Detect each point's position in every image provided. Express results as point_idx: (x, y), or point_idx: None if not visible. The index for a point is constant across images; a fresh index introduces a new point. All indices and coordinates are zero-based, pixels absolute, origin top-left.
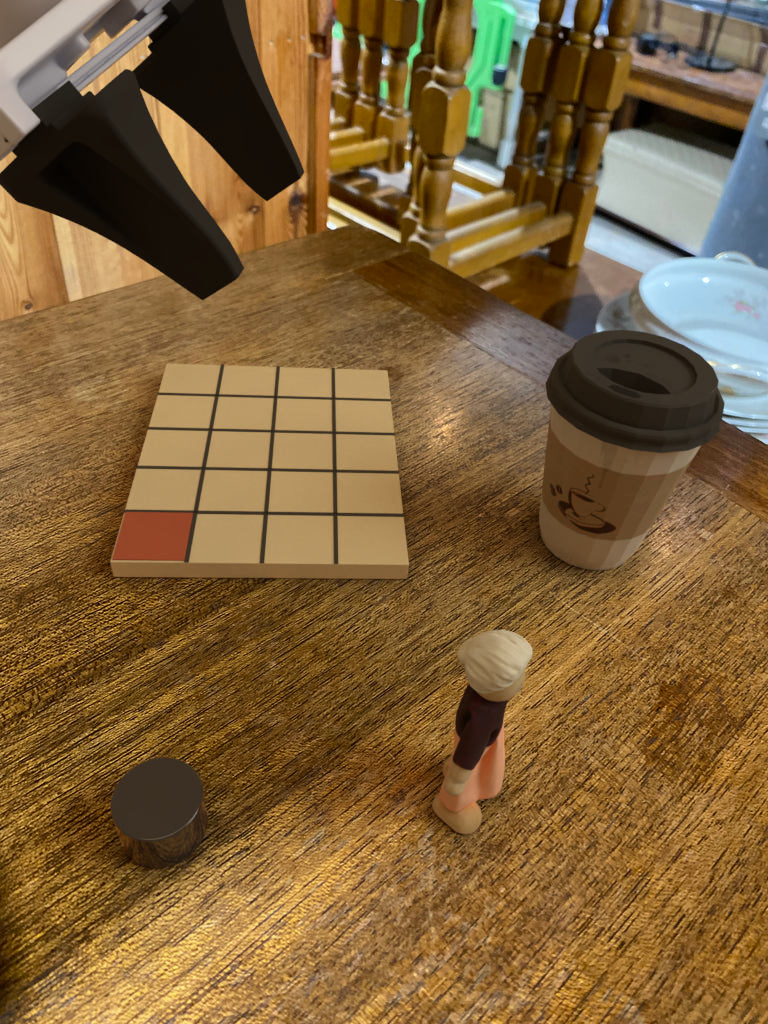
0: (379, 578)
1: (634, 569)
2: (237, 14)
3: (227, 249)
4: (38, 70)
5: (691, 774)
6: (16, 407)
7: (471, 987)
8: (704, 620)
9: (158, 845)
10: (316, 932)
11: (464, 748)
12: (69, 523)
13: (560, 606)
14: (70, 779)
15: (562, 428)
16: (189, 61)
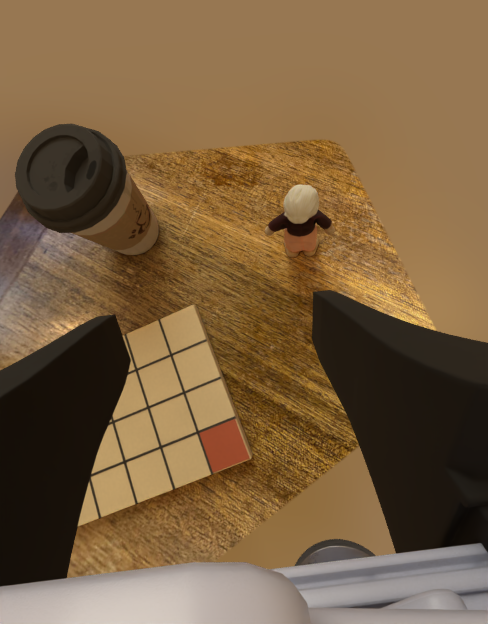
0: (201, 319)
1: (150, 207)
2: None
3: (332, 295)
4: None
5: (256, 168)
6: None
7: (371, 222)
8: (172, 173)
9: None
10: (378, 278)
11: (327, 221)
12: (225, 505)
13: (187, 233)
14: None
15: (109, 219)
16: (21, 506)
